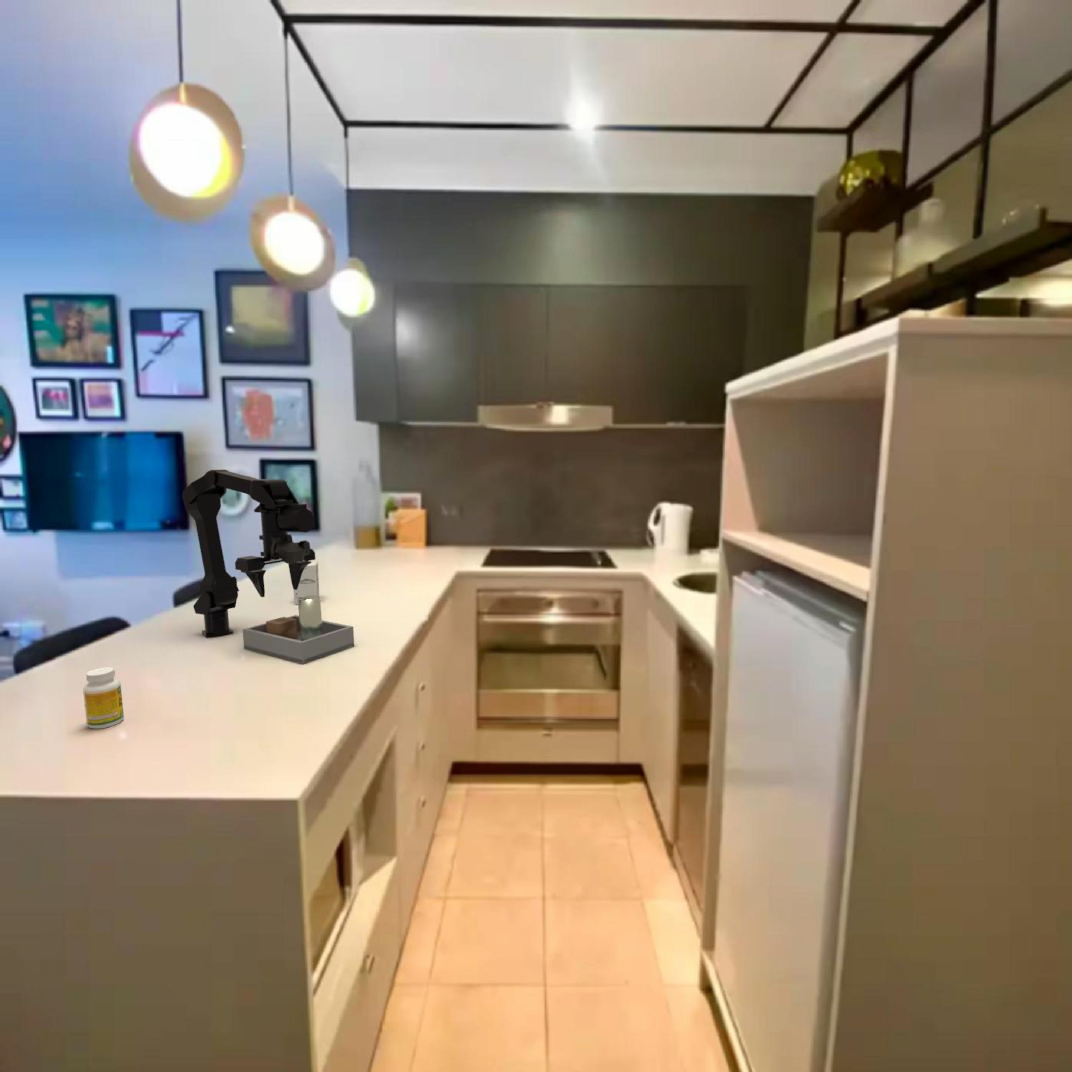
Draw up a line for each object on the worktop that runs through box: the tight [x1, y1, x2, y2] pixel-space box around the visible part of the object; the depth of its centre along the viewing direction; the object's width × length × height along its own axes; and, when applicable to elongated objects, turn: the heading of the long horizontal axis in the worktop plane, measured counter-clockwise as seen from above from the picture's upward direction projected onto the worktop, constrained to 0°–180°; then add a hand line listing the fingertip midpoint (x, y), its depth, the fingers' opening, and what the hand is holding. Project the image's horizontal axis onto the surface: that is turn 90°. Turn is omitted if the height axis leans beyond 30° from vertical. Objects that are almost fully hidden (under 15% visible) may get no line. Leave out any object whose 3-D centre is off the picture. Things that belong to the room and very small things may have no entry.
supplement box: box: [293, 561, 320, 606], centre depth 194 cm, size 7×7×13 cm
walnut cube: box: [265, 616, 297, 639], centre depth 151 cm, size 5×5×5 cm
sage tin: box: [297, 595, 323, 641], centre depth 144 cm, size 5×5×12 cm
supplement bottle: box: [82, 666, 125, 730], centre depth 106 cm, size 5×5×10 cm
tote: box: [242, 614, 355, 665], centre depth 147 cm, size 22×15×5 cm
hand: (279, 593), depth 149 cm, fingers open, 9 cm apart
